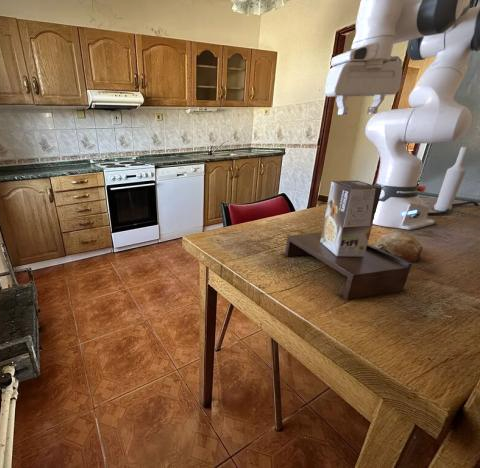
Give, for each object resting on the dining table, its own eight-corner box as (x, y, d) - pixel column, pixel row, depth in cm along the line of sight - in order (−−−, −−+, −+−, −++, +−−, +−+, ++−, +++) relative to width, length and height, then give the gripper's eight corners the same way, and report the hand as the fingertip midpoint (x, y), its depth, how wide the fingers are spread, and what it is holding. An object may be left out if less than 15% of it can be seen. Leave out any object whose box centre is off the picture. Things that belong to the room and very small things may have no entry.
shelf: (327, 249, 76) (332, 228, 74) (402, 290, 56) (412, 263, 54) (284, 255, 74) (287, 233, 72) (347, 299, 54) (354, 271, 52)
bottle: (439, 211, 106) (463, 147, 97) (430, 208, 111) (451, 147, 101) (454, 211, 105) (479, 147, 96) (443, 208, 110) (466, 146, 101)
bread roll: (367, 260, 77) (365, 240, 73) (389, 241, 78) (389, 220, 75) (406, 275, 68) (407, 253, 64) (431, 253, 70) (433, 231, 66)
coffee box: (365, 257, 59) (384, 187, 53) (336, 257, 59) (351, 188, 53) (344, 241, 67) (358, 179, 61) (318, 241, 68) (330, 180, 62)
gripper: (391, 59, 71) (378, 114, 76) (326, 58, 68) (316, 116, 73) (416, 52, 65) (399, 112, 70) (345, 51, 62) (333, 114, 67)
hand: (357, 114), depth 71 cm, fingers open, 8 cm apart
